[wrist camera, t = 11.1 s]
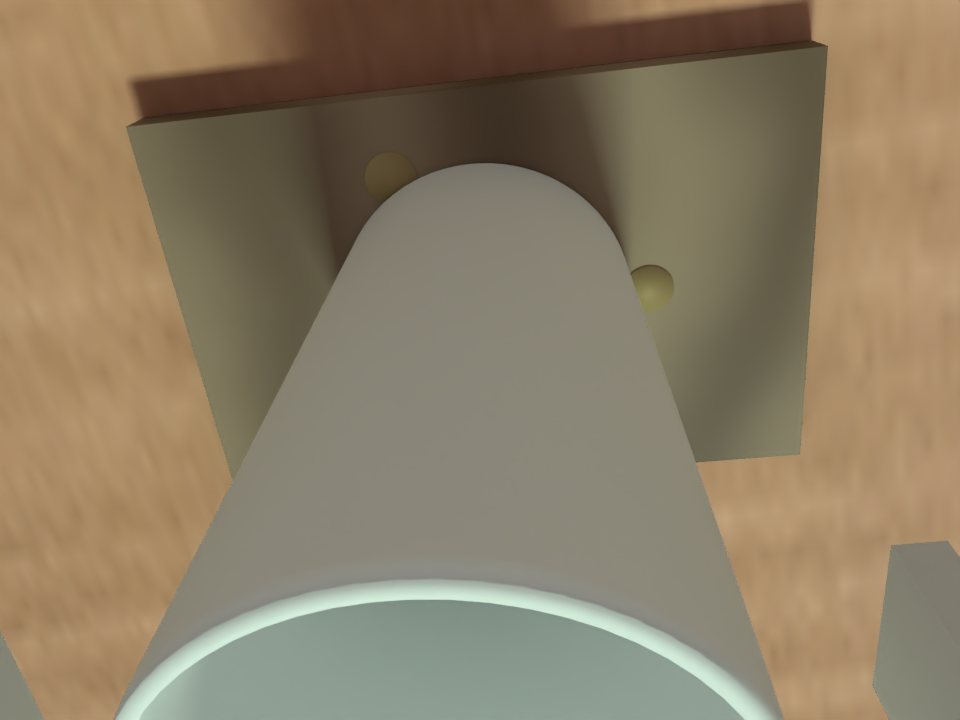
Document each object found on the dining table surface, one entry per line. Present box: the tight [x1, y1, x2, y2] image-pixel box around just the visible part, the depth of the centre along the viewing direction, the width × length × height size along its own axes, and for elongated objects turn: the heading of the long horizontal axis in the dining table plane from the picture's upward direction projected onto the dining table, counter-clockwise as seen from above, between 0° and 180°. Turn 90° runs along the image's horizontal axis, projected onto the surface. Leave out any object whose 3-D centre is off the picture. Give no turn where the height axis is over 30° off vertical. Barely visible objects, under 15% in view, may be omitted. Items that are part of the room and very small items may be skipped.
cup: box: [113, 163, 784, 720], centre depth 17 cm, size 8×8×16 cm
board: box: [126, 41, 828, 479], centre depth 24 cm, size 18×12×1 cm, turn 96°
